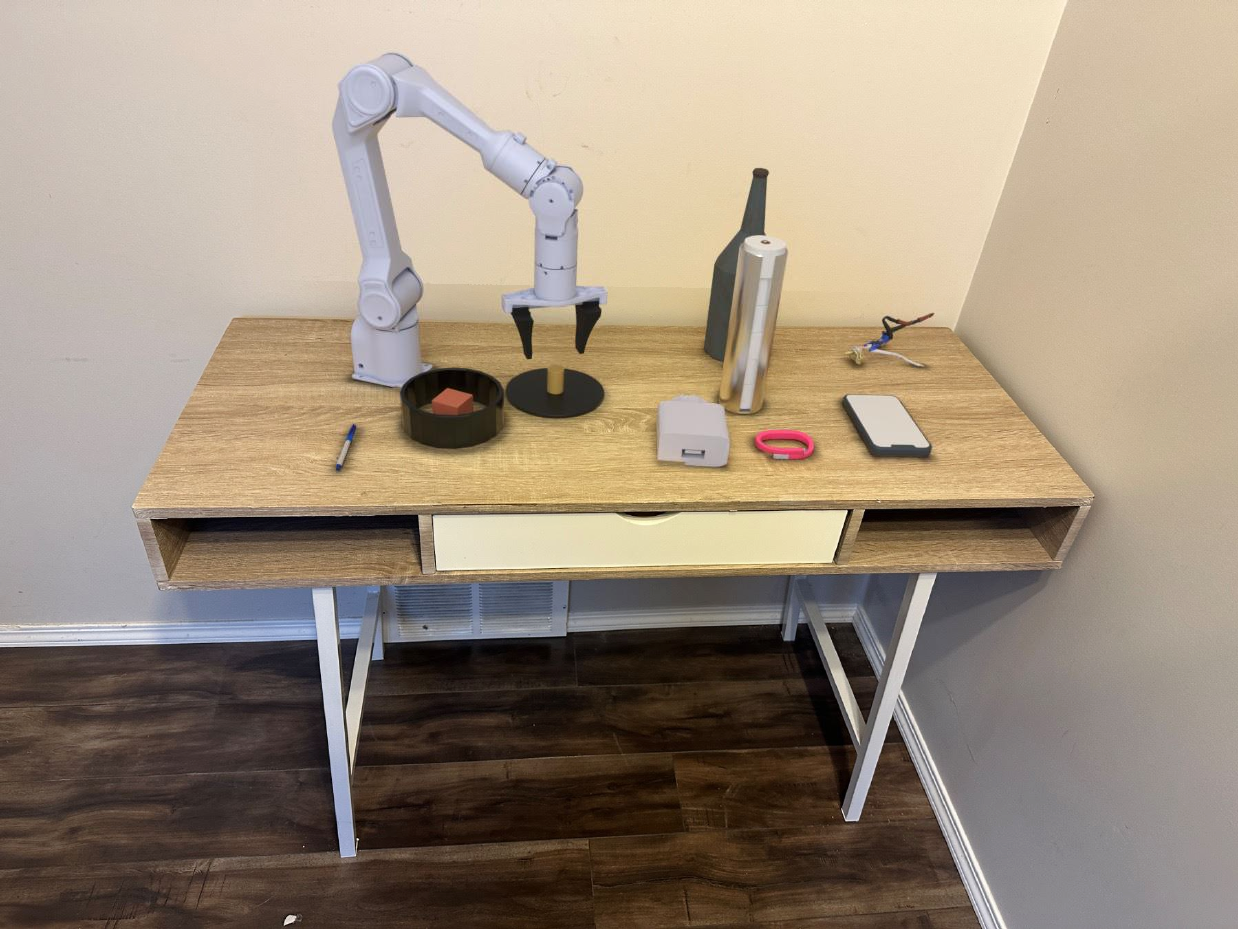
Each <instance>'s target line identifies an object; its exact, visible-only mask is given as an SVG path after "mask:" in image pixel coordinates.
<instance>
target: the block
mask: <svg viewBox="0 0 1238 929" xmlns="http://www.w3.org/2000/svg"><path fill="white" fill-rule="evenodd" d="M431 410H432V412H431V413H434V414H443V415H458V414H467V413H471V412H474V402H473V395H471V394H468V393H464V392H460V391H457V390H453V389H449V388H447V389H446V390H444V391H443V392H442V393H441V394H439V395H438V396H437V397H436V398H434V399H433V400H432V403H431Z"/></svg>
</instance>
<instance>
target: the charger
mask: <svg viewBox="0 0 1238 929" xmlns="http://www.w3.org/2000/svg"><path fill="white" fill-rule="evenodd" d="M726 415H727V414H726V409H724V407H723V406H722V405H720V404H719V403H716V402H708V400H706V399H705V398H702V397H701V396H699V395H696V393H692V394H691V395H688V394H687V395H686V394H684V393H683V392H682V393H680V394H679V395H677V396H674V397H672V398H670V399H669V400H663V401H660V402H659V403H658V405H657V412H656V422H655V428H656V429H655V430H656V452H657V453H656V455H657V456H656V457H657V460H658V461H667V462H680V463H681V462H684V464H683V465H684V466H694V467H695V466H697V467H714V468H717V467H718V468H719V467H722V466H723V467H724V466H726V465H727V463H728V459H729V453H730V446H731V440H730V439H731V438H730V434H729V427H728V422H727V417H726Z"/></svg>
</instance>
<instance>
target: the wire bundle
mask: <svg viewBox="0 0 1238 929" xmlns="http://www.w3.org/2000/svg"><path fill="white" fill-rule="evenodd" d="M934 315H935V312H931V313H928V314H926V315H923V316H920V317H917V319H914V320H910V321H906V320H903V319H900V318H897V319H896V318H894V317H892V316H891V315H890V316H889V315H885V316H884V317H883V318H882V319H881V323H882V326H883V327H884V329H885V330H882V331H881V337H880V338H878V339H877V340H875V339H872V340H871V341H869V342H867V343H865V344H863V345H862V346H861V345H860V346H859V345H852V346H850V347H848V348H847V349H846V351H845V353H844V355H845V356H847V357H848V358H850V359H851V360H853V361H854V362H855V363H856V364H857V365H861V364H863V362H862V360H863V359H864V356H865V353H863V350H868V352H869V353H874V354H879V355H889V356H891V357H895V358H896V357H897V358H900V359H901V360H904V361H905V362H907V363H908V364H911V365H913V366H916V367H923V368H925V366H924V365H923V364H922V363H918V362H915V361H912V360H910V359H908V358H907V357H906V356H904V355H901V354H899V353H896V352H892V351H887V350H883V349H879V348H880V347H881V348H882V347H884V344H887V343H889V342H890V341H891V340H893V339H894V333H896V332H897V331H900V330H901V329H904V328H906V327H910V326H913V325H916V324H918V323H919V324H920V323H922V322H924V321H926V320H928V319H930V318H932V317H934ZM886 320H887V321H888V322H891V323H894V324H896V325H897V326H896V325H895V326H892V327H891V326H890V325H889V324H888V322H887V321H886Z"/></svg>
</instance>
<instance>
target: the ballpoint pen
mask: <svg viewBox="0 0 1238 929" xmlns="http://www.w3.org/2000/svg"><path fill="white" fill-rule="evenodd" d="M356 429H357V425H356V424H355V423H353V424H352V425H351V427H350V428H349V431H348V434H347V436H346V438H345V441H344V445H343V447H342V450H341V451H340V455H339V456H338V457H339V458H338V460H337V462H336V465H335V471H337V472H338V471H339V470H340V469H342V467H343V463H344V461H345V458H346V455H347V454H348V450H349V448H350V445H351V444H352V441H353V439H354V435H355V433H356Z"/></svg>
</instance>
